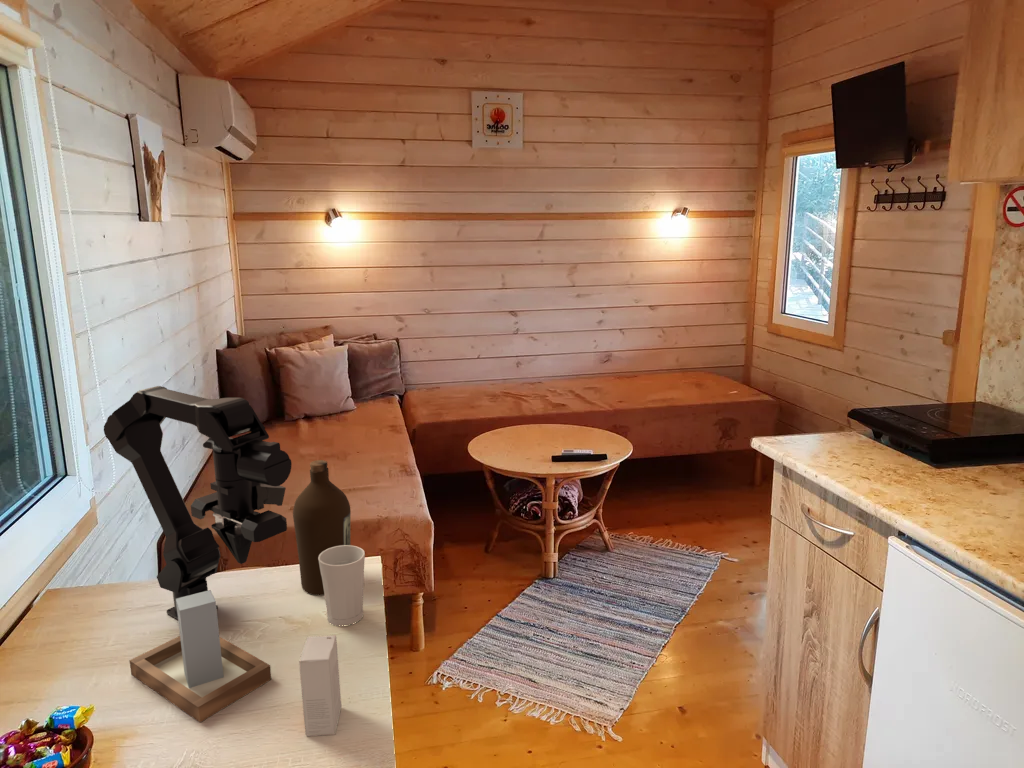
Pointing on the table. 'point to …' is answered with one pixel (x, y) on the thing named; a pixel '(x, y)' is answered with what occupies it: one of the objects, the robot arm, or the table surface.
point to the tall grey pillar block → (199, 638)
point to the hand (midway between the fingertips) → (242, 562)
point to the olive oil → (319, 524)
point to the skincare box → (320, 685)
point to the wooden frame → (204, 700)
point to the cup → (343, 583)
